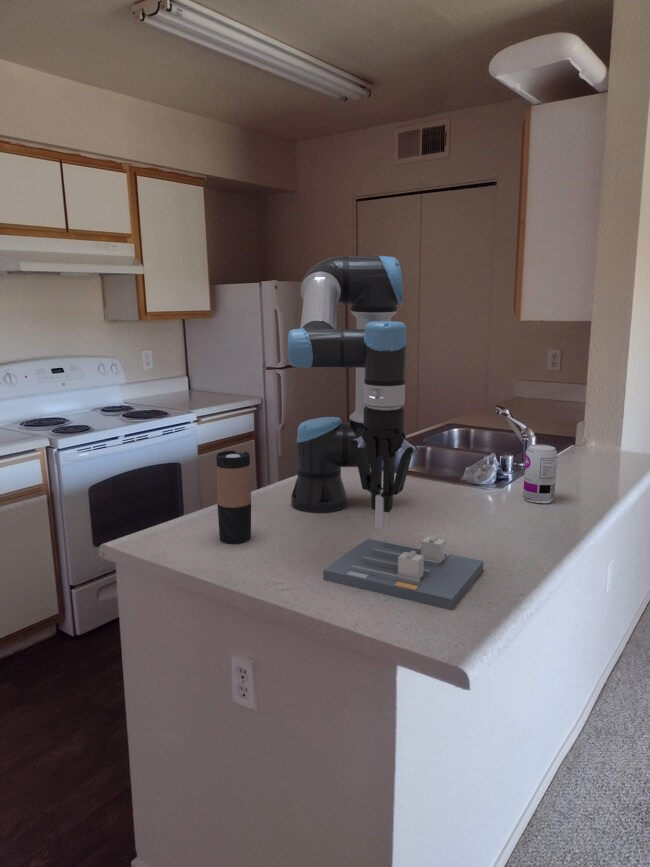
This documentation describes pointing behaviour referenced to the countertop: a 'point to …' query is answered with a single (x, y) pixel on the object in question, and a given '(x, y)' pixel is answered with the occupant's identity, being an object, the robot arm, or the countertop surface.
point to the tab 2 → (433, 548)
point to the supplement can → (540, 473)
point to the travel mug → (234, 496)
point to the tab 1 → (411, 565)
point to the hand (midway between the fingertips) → (381, 526)
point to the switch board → (379, 573)
